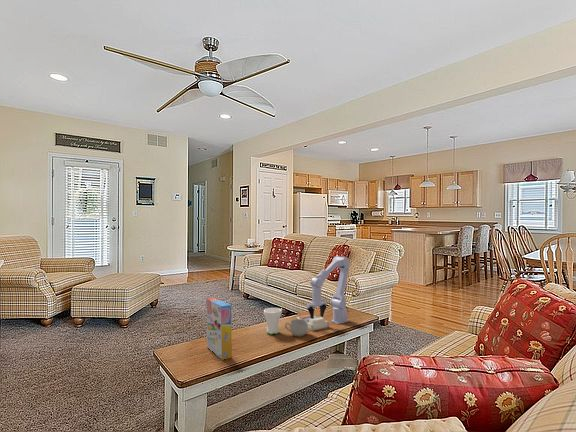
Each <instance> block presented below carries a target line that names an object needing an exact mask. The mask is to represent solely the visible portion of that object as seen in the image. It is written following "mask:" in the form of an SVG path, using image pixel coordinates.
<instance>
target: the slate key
mask: <svg viewBox="0 0 576 432" xmlns="http://www.w3.org/2000/svg"><path fill="white" fill-rule="evenodd" d="M314 316H315V317H314V318H319V317H320V316H316V315H314ZM314 318H313V319H314ZM309 319H312V318H311V317H310V318H305V319H304V320H306V321H307V322H309Z"/></svg>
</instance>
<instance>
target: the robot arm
mask: <svg viewBox="0 0 576 432" xmlns="http://www.w3.org/2000/svg"><path fill="white" fill-rule="evenodd" d="M350 264H351V261H350V259H349V257H346V256H338V255H336V256H334V257H333V258H332V261H331V263H330V264H328V266H327V267H326V268H325V269H321V270H320V272H319V273H318V274H317V275H316V276H315V277H313V278H311V280H310V282H309V283H310V284H309V285H310V286H311V289H312V293H311V295H312V299H311V300H312V302H311V303H307V304H306V308H307V311H308V314H310V317H311V318H312V319H313V318H314V316H315V315H314V314H315V308H316V307H319V312H320V313H319V315H320V316H319V317H322V318H324V315H325V312H326V310H327V305H328V302H327V301H322V287H323V285H324V283H325V281H326V280H327V279H328V278H329V277H330V274H331V272H333V271H334V270H335V269H336V268H338V270H339V272H340V273H339V277H338V282H337V286H336V287H337V288H336V292H335V293H334V294H332V298H331V300H330V305H331V307H332V319H331V320H330V322H332V323H335V324H337V325H339V324H345V323H348V322H349V321H348V310H347V308H346V307H347V298H346V296H345V293H346V292H345V291H346V286H347V282H348V281H347V280H348V277H349V276H348V275H349V272H350Z"/></svg>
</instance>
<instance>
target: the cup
mask: <svg viewBox="0 0 576 432" xmlns="http://www.w3.org/2000/svg"><path fill="white" fill-rule="evenodd" d="M282 311H283V310H282V308H280V307H267V308H264V310H263V316H264V318H265V321H266V334H267V335H270V336H273V335H276V336H277V335H278V334H279V332H280V327H279V325H280V319H281V316H282V314H283V313H282Z"/></svg>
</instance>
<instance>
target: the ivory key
mask: <svg viewBox="0 0 576 432" xmlns="http://www.w3.org/2000/svg"><path fill="white" fill-rule="evenodd" d="M318 317H319V318H314V319H309V323H310V324H312V325H313V324H318V323H323V322H325V321H326V320H325V318H324V317H321V316H318Z"/></svg>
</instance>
